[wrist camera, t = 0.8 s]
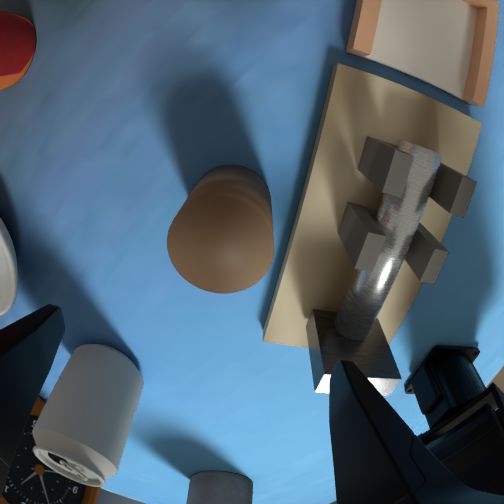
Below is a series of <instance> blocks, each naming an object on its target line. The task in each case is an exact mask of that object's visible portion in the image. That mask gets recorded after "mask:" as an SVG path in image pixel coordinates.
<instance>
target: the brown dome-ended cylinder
mask: <svg viewBox="0 0 504 504" xmlns="http://www.w3.org/2000/svg"><path fill="white" fill-rule="evenodd" d="M167 248H168V253H169V257H170V259H171V262H172V264H173V265H174V267H175V269H176V270H177V271H178V273H179V274H180V275H181V276H182V277H183V278H184V279H185V280H187V281H188V282H189V283H191V284H192V285H194V286H196V287H198V288H200V289H203V290H205V291H209V292H214V293H234V292H238V291H242V290H245V289H247V288H249V287H251V286H252V285H254V284H256V283H257V282H258V281H259V280H260V279H261V278H262V277H263V276H264V275H265V274H266V272H267V271H268V269H269V267H270V266H271V263H272V260H273V256H274V234H273V220H272V205H271V196H270V192H269V189H268V187H267V185H266V183H265V182H264V180H263V179H262V178H261V177H260V176H259V175H258V174H257V173H255V172H254V171H252V170H251V169H249V168H246V167H243V166H240V165H222V166H219V167H216V168H214V169H212V170H210V171H208V172H207V173H206V174H205V175H204V176H203V177H202V178H201V179H200V180H199V182H198V183H197V185H196V186H195V188H194V189H193V191H192V192H191V194H190V195H189V197H188V198H187V200H186V201H185V203H184V204H183V206H182V207H181V209H180V210H179V212H178V214H177V215H176V217H175V218H174V220H173V222H172V224H171V226H170V228H169V231H168V237H167Z"/></svg>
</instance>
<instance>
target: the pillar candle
mask: <svg viewBox="0 0 504 504" xmlns="http://www.w3.org/2000/svg"><path fill="white" fill-rule="evenodd" d="M252 494H253V482H252V481H251V480H250V479H249V478H247V477H245V476H242V475H239V474H235V473H230V472H223V471H203V472H200V473H197V474H195V475H192V476H191V479H190V483H189V490H188V497H187V503H186V504H252Z"/></svg>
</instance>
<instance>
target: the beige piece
mask: <svg viewBox="0 0 504 504" xmlns="http://www.w3.org/2000/svg"><path fill="white" fill-rule="evenodd" d="M481 127H482V123H480V122H478V121H476V120H475V119H473V118H471V117H469V116H467V115H465V114H463V113H461V112H459V111H458V110H456V109H454V108H452V107H449V106H447V105H445V104H443V103H441V102H439V101H437V100H435V99H433V98H430V97H428V96H426V95H424V94H421V93H419V92H417V91H414V90H412V89H410V88H407V87H405V86H402V85H400V84H397V83H395V82H392V81H390V80H387V79H384V78H381V77H379V76H376V75H373V74H370V73H367V72H364V71H361V70H358V69H355V68H352V67H349V66H346V65H343V64H339V63H338V64H335V65H333V70H332V74H331V78H330V83H329V87H328V91H327V95H326V100H325V104H324V108H323V112H322V116H321V120H320V124H319V128H318V132H317V136H316V140H315V144H314V148H313V152H312V156H311V160H310V164H309V168H308V172H307V175H306V179H305V183H304V187H303V191H302V194H301V198H300V202H299V206H298V209H297V213H296V217H295V221H294V224H293V228H292V231H291V235H290V239H289V242H288V246H287V250H286V253H285V257H284V260H283V264H282V267H281V271H280V274H279V278H278V281H277V285H276V288H275V292H274V295H273V298H272V302H271V305H270V309H269V312H268V315H267V319H266V322H265V326H264V329H263V342H269V343H276V344H283V345H290V346H297V347H305V348H309V346H308V339H307V332H306V324H307V321H308V319H309V316H310V314H311V311H312V309H318V310H325V311H332V312H339V310H340V308H341V305H342V303H343V301H344V298H345V296H346V293H347V291H348V289H349V286H350V284H351V281H352V279H353V277H354V274H355V272H356V269H359V270H364V271H369V272H373V269H374V267H375V265H376V262H377V260H378V257H379V255H380V252H381V250H382V247H383V245H384V242H385V240H386V237H387V236H386V235H385V234H384V232H383V231H382V230H381V228H380V227H379V226H378V224H377V223H376V222H375V219H376V216H377V213H378V210H379V207H380V204H381V201H382V198H383V195H384V193H387V194H390V195H393V196H397V197H400V198H401V196H402V193H403V190H404V187H405V184H406V181H407V178H408V175H409V172H410V169H411V166H412V162H413V159H414V156H412V155H410V154H408V153H406V152H404V151H402V150H400V149H398V147H399V144H400V140H401V139H403V140H406V141H409V142H412V143H414V144H417V145H420V146H422V147H425V148H427V149H429V150H432V151H434V152H436V153H439V154H441V155H443V156H442V159H441V162H440V166H439V169H438V172H437V175H436V178H435V181H434V184H433V187H432V190H431V192H430V195H429V198H428V201H427V204H426V206H425V209H424V212H423V214H422V217H421V219H420V222H419V225H418V227H417V230H416V232H415V235H414V237H413V240H412V242H411V244H410V247H409V249H408V252H407V254H406V256H405V259H404V261H403V263H402V265H401V268H400V270H399V272H398V274H397V277H396V279H395V281H394V283H393V285H392V287H391V289H390V292H389V294H388V296H387V298H386V300H385V302H384V304H383V306H382V308H381V310H380V312H379V314H378V316H377V318H378V320H379V322H380V325H381V327H382V329H383V332H384V334H385V337H386V339H387V342H388V344H390V342H391V341H392V339H393V337H394V336H395V334H396V332H397V330H398V329H399V327H400V325H401V323H402V321H403V320H404V318H405V316H406V314H407V312H408V310H409V309H410V307H411V305H412V303H413V301H414V299H415V297H416V295H417V293H418V291H419V289H420V287H421V285H422V283H423V282H426V283H431V284H434V282H435V280H436V278H437V276H438V274H439V272H440V270H441V268H442V266H443V264H444V262H445V260H446V257H447V255H448V253H449V252H448V251H447V250H446V249H445V248H444V247H443V245H442V244H441V242H442V240H443V238H444V235H445V233H446V230H447V228H448V226H449V223H450V221H451V218H452V216H453V215H456V216H459V217H462V218H464V215H465V213H466V210H467V208H468V205H469V202H470V200H471V197H472V194H473V191H474V188H475V186H476V183H477V182H476V181H474V180H472V179H470V178H469V177H467V174H468V171H469V168H470V165H471V162H472V158H473V155H474V152H475V148H476V145H477V141H478V138H479V134H480V130H481Z"/></svg>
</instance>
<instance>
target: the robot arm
mask: <svg viewBox="0 0 504 504" xmlns="http://www.w3.org/2000/svg"><path fill="white" fill-rule="evenodd" d="M64 331H65V324H64V319H63V315H62V310H61V308H60V307H59V306H56V305H52V304H48V305H46V306H44V307H42V308H40V309H38V310H36V311H35V312H33V313H31V314H29V315H27V316H25V317H23V318H21V319H19V320H18V321H16V322H14V323H12V324H10V325H8V326H6V327H4V328H3V329H1V330H0V498H1V495H2V492H3V488H4V485H5V482H6V479H7V476H8V473H9V470H10V468H9V467H10V466H11V463H12V460H13V458H14V455H15V452H16V449H17V447H18V444H19V441H20V439H21V436H22V433H23V431H24V428H25V426H26V423H27V421H28V419H29V416H30V414H31V411H32V409H33V407H34V404H35V402H36V400H37V397H38V395H39V393H40V391H41V389H42V386H43V384H44V382H45V380H46V378H47V376H48V373H49V371H50V369H51V366H52V364H53V361H54V358H55V355H56V353H57V350H58V347H59V344H60V342H61V339H62V337H63V334H64ZM479 353H480V350H479V349H478V348H476V347H456V346H440V345H439V346H435V347H434V348H433V349H432V351H431V352H430V354H429V355H428V356H427V358H426V359H425V361H424V362H423V364H422V365H421V367H420V368H419V369H418V371H417V372H416V374H415V375H414V376H413V378H412V379H411V380H410V382H409V383H408V384H407V386H406V387H405V389H404V390H405V393H406V394H415V396H416V398H417V401H418V404H419V407H420V410H421V412H422V414H423V415H425V416H426V419H427V422H428V425H429V428H430V429H429V430H428V431H426V432H425V433H423V434H420V435H418V436H416V435H414V432H413V431H412V430H411V429H410V428H409V426H408V425H407V424H406V423H405V422H404V421H403V419H402V418H401V417H400V416H399V415H398V413H397V412H396V411H395V410H394V409H393V408H392V406H391V405H390V404H389V403H388V402H387V401H386V399H385V398H384V397H383V396H382V395H381V393H380V392H379V391H378V390H377V389H376V388H375V386H374V385H373V384H372V383H371V382H370V381H369V379H368V378H367V377H366V376H365V375H364V374H363V372H362V371H361V370H360V369H359V368H358V366H357V365H356V364H355V363H354V362H353V361H351V360H343V359H342V360H339V361H338V363H337V365H336V367H335V369H334V371H333V372H332V374H331V377H330V381H329V424H330V435H331V444H332V454H333V464H334V475H335V487H336V499H337V504H504V393H503V392H502V391H501V390H500V389H499V388H498V387H497V385H496V384H494V382H493V383H492V384H490V385H489V387H488V388H487V389H486V387H485V385H484V383H483V381H482V379H481V378H480V376H479V374H478V372H477V370H476V368H475V367H474V365H473V362H474V360H475V359H476V357H477V356H478V355H479ZM496 408H498V410H496V411H495V409H496Z"/></svg>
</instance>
